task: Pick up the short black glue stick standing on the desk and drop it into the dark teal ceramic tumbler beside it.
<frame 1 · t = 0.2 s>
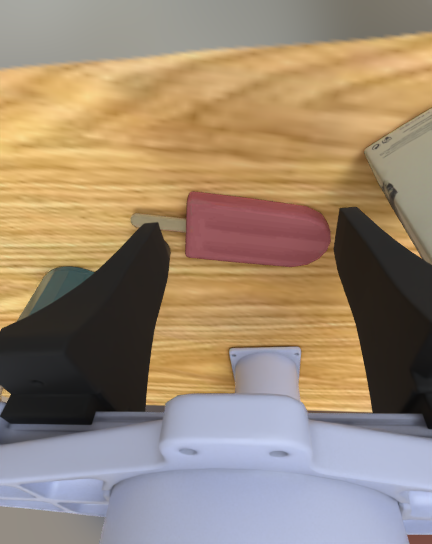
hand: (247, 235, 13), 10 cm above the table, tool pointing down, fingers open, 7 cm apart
tumbler: (82, 293, 32), on the table
popsicle: (230, 222, 25), on the table
box: (409, 158, 21), on the table
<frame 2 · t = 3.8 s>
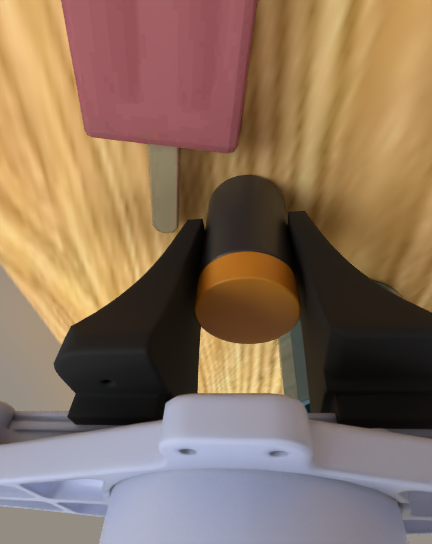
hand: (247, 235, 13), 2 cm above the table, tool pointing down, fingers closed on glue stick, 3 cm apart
tumbler: (338, 320, 20), on the table
popsicle: (167, 23, 10), on the table
glue stick: (246, 209, 15), on the table, touching gripper
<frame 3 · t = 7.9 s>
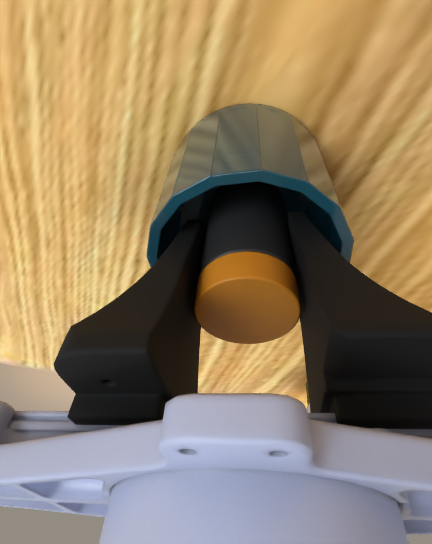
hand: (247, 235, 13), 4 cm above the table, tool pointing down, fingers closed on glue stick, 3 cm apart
tumbler: (246, 182, 16), on the table
glue stick: (246, 209, 15), point 2 cm above the table, touching gripper
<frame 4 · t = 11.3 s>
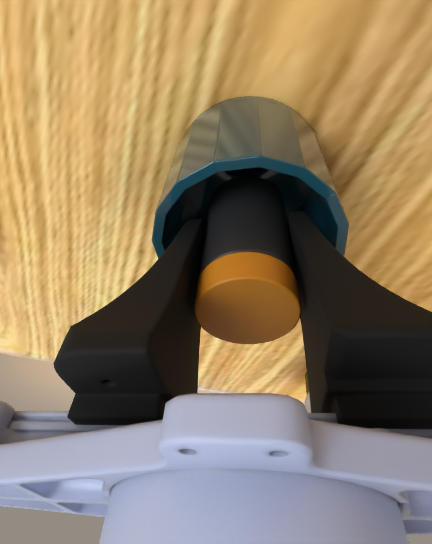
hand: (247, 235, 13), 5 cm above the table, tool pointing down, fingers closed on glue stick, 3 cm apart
tumbler: (246, 173, 17), on the table
glue stick: (246, 209, 15), point 3 cm above the table, touching gripper
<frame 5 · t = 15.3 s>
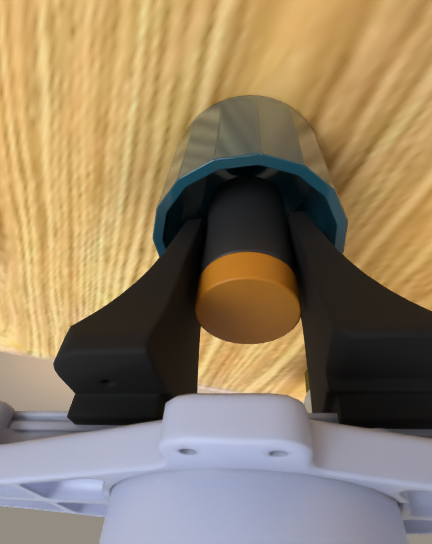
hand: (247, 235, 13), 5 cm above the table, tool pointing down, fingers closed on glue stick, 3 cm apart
tumbler: (246, 172, 17), on the table
glue stick: (246, 209, 15), point 3 cm above the table, touching gripper
when the fingers open (7 cm above the table, at t = 18.8 s): glue stick drops 4 cm, resting on tumbler.
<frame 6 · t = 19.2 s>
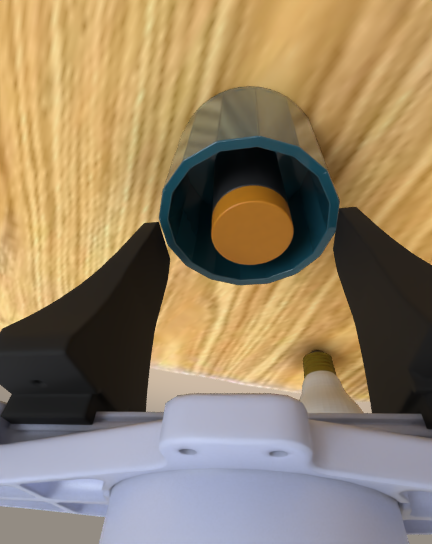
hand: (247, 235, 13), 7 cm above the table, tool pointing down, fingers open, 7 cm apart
tumbler: (246, 160, 18), on the table
glue stick: (245, 165, 18), point 1 cm above the table, touching tumbler
light bulb: (315, 350, 31), on the table
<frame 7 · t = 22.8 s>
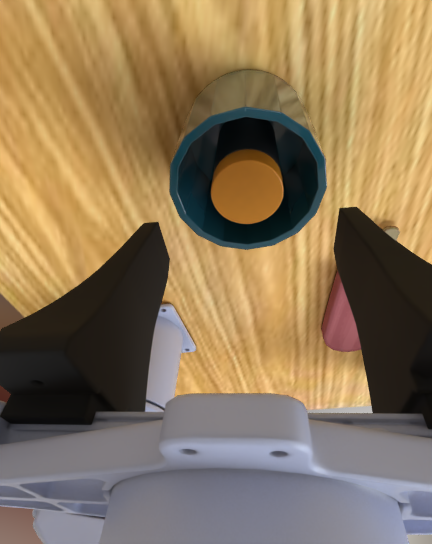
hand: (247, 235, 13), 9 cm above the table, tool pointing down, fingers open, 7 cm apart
tumbler: (246, 138, 20), on the table
popsicle: (360, 289, 29), on the table
glue stick: (246, 141, 20), resting on tumbler
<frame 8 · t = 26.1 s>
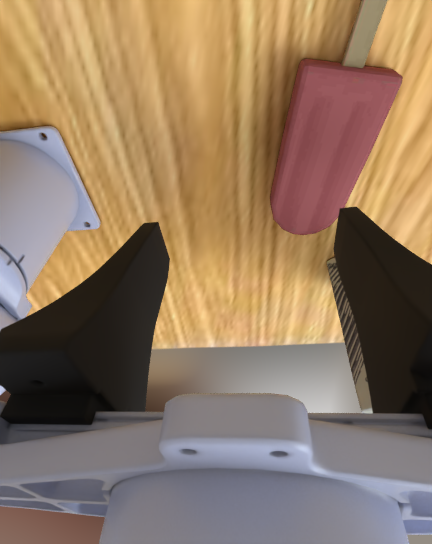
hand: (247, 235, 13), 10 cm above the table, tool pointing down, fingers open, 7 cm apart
popsicle: (327, 123, 20), on the table
box: (361, 262, 28), on the table
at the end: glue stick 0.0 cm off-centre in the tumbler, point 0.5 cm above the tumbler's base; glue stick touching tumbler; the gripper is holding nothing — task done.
